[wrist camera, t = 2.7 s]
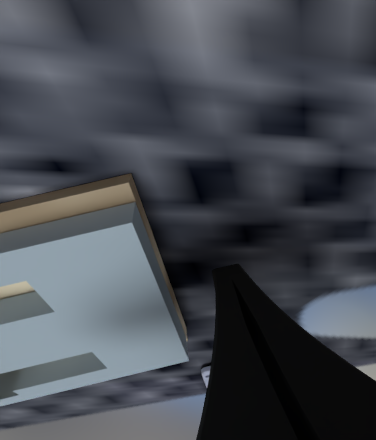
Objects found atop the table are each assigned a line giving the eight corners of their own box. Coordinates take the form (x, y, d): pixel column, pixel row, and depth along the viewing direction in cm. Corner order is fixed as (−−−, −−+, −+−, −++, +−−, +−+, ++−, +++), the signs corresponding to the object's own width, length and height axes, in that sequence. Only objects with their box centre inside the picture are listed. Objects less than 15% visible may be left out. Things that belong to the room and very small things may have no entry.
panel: (185, 336, 14) (188, 360, 13) (-21, 385, 14) (-38, 415, 13) (135, 202, 8) (131, 222, 7) (-216, 283, 8) (-282, 319, 7)
